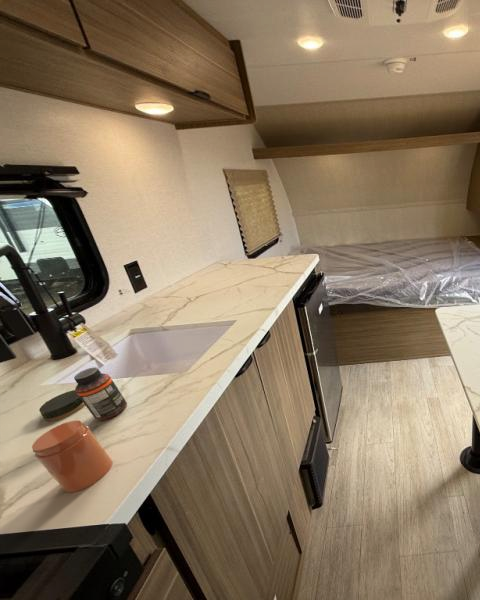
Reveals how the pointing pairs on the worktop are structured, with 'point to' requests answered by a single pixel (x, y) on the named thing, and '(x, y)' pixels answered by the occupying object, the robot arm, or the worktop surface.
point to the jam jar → (72, 455)
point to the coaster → (65, 413)
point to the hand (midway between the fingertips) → (17, 347)
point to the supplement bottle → (99, 394)
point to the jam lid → (60, 404)
